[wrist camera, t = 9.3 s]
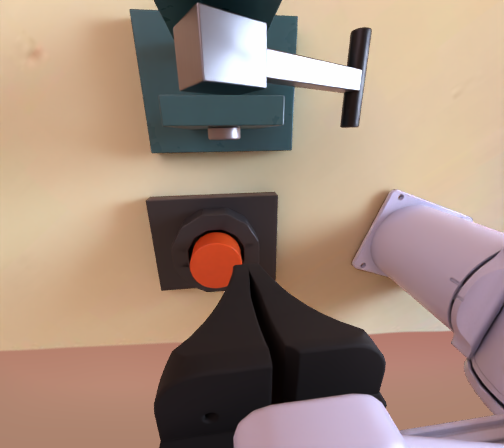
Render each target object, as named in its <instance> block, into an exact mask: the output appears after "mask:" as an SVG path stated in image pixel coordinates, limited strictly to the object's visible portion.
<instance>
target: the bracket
mask: <svg viewBox="0 0 504 448" xmlns="http://www.w3.org/2000/svg"><path fill="white" fill-rule="evenodd" d="M281 1H282V0H154V2H155V4H156V6H157V8H158V10H139V9H130V16H131V22H132V29H133V35H134V42H135V48H136V55H137V61H138V68H139V74H140V81H141V87H142V94H143V100H144V107H145V113H146V120H147V126H148V133H149V139H150V146H151V152H152V153H183V152H232V151H281V150H292V131H293V109H294V87H293V86H285V85H277V84H269V83H266V89H263V90H259V91H254V92H250V93H246V94H242V95H218V94H206V93H194V92H182V91H180V90H179V82H178V72H177V63H176V53H175V44H174V34H173V27H174V26H175V25H176V24H177V23H178V22H179V21H180V20H181V18H182V17H183V16H184V15H185V14H186V13H187V12H188V11H189V10H190V9H191V8H192V7H193V6H194V5H195V4H196V3H197V2H200V3H204V4H207V5H210V6H214V7H217V8H220V9H224V10H227V11H230V12H233V13H237V14H240V15H243V16H247V17H250V18H253V19H257V20H260V21H263V22H266V23H267V48H269V49H274V50H278V51H282V52H287V53H291V54H296V44H297V22H298V16H280V15H275V14H276V12H277V10H278V8H279V6H280V3H281Z"/></svg>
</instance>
